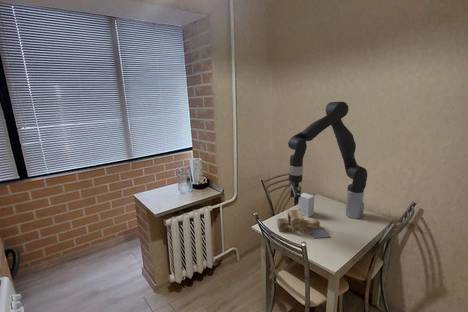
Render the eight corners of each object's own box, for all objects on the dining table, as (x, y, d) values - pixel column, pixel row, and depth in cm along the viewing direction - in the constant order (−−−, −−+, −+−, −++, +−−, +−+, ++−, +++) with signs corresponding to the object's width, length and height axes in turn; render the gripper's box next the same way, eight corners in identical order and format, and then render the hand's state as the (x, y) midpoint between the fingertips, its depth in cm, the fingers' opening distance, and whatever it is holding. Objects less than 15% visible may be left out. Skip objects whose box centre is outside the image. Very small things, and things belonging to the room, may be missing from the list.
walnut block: (286, 226, 150) (286, 218, 149) (288, 231, 145) (288, 222, 144) (277, 227, 150) (277, 218, 149) (279, 231, 145) (279, 223, 144)
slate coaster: (324, 228, 146) (324, 227, 146) (330, 237, 137) (330, 236, 137) (308, 229, 145) (308, 228, 145) (314, 238, 137) (314, 237, 137)
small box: (313, 214, 163) (314, 195, 160) (308, 217, 160) (308, 198, 156) (303, 210, 170) (303, 192, 166) (297, 213, 166) (298, 195, 162)
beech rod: (317, 226, 149) (318, 219, 148) (319, 229, 146) (319, 222, 145) (291, 226, 150) (291, 220, 149) (292, 230, 147) (292, 223, 145)
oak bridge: (298, 223, 153) (298, 209, 151) (303, 233, 142) (304, 218, 140) (287, 223, 153) (287, 210, 151) (292, 233, 142) (292, 219, 140)
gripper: (306, 176, 132) (304, 205, 136) (298, 169, 146) (297, 194, 150) (292, 177, 132) (291, 205, 136) (285, 169, 146) (284, 195, 150)
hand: (294, 199), depth 143 cm, fingers open, 8 cm apart
